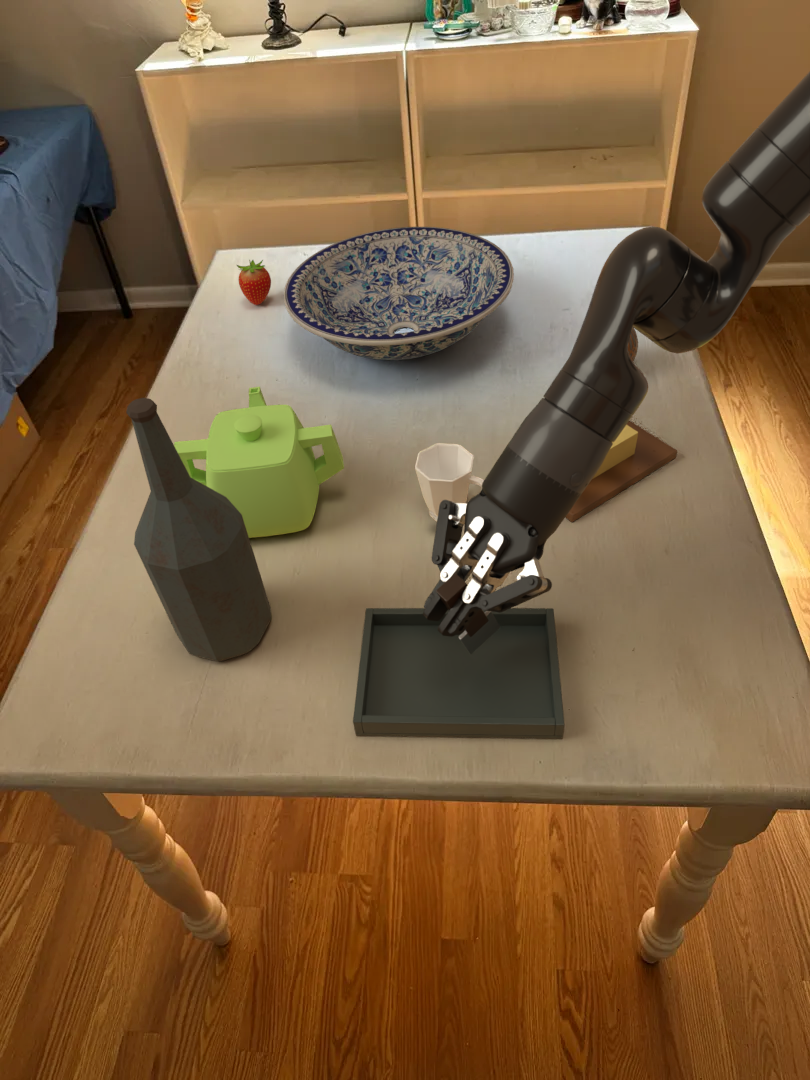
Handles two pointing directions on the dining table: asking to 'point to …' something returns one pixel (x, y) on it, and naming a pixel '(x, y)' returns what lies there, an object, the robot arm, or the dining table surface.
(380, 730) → the tray
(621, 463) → the board
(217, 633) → the bottle
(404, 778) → the dining table surface
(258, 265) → the fruit
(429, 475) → the cup
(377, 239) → the ceramic bowl
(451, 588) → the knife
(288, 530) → the teapot
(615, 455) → the butter
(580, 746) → the dining table surface
